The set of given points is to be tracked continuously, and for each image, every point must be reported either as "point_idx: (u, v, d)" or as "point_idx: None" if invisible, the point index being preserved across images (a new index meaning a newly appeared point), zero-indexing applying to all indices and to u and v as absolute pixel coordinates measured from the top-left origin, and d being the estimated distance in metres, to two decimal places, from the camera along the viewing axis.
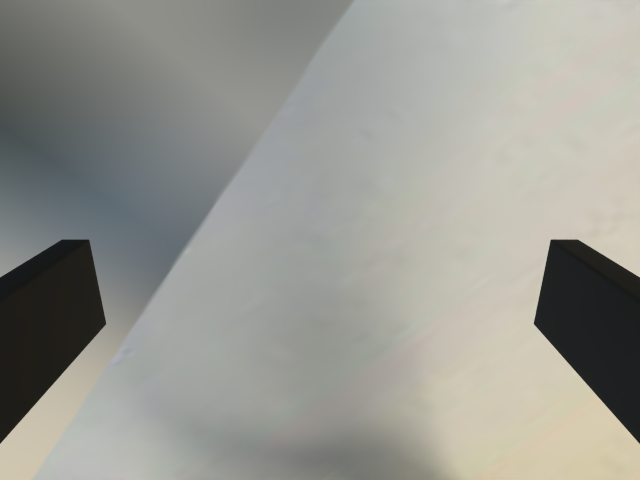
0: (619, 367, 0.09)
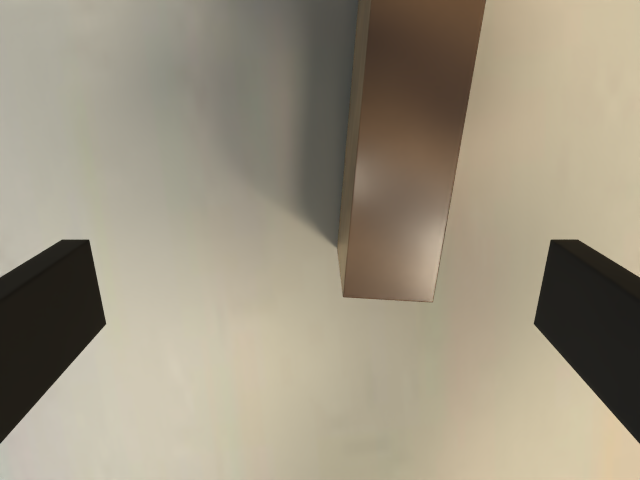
0: (619, 367, 0.09)
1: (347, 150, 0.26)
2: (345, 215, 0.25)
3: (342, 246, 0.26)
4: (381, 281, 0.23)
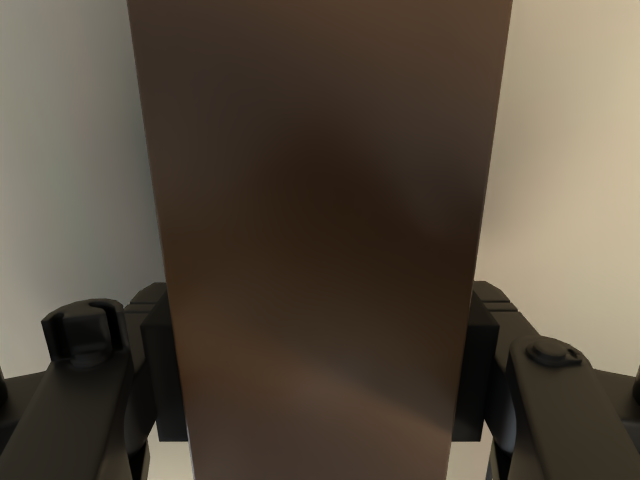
0: None
1: None
2: None
3: None
4: None
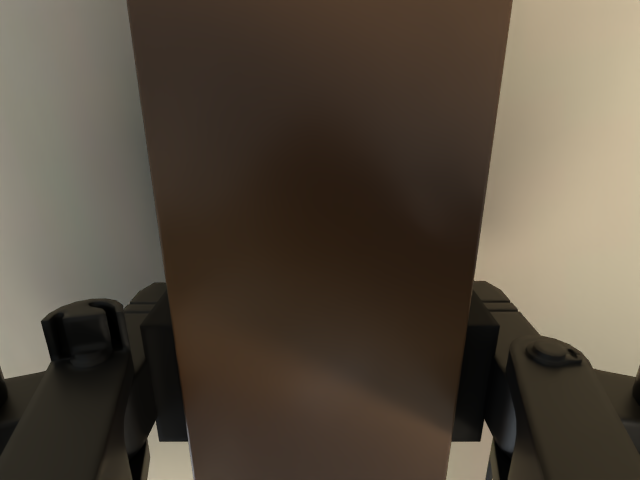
0: None
1: None
2: None
3: None
4: None
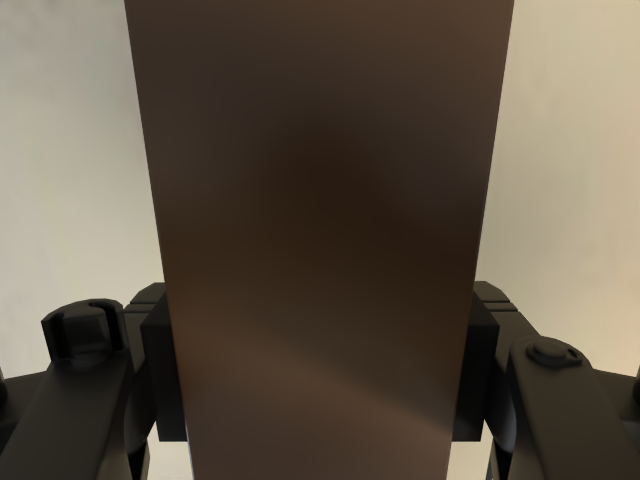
0: None
1: None
2: None
3: None
4: None
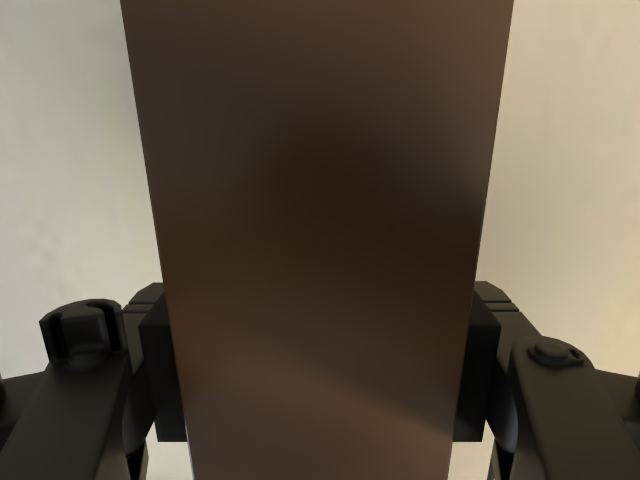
0: None
1: None
2: None
3: None
4: None
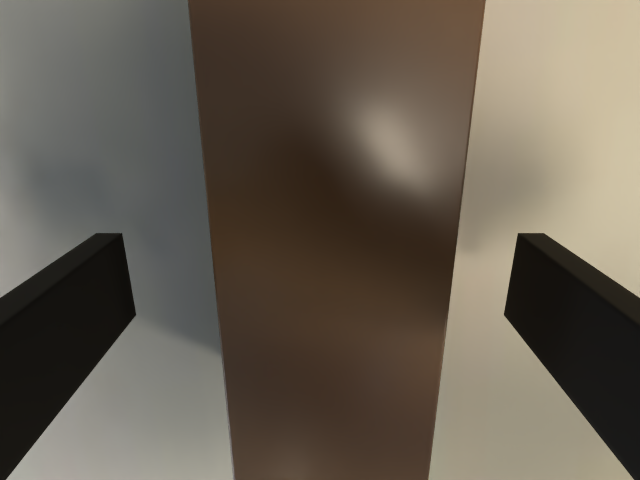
0: (573, 352, 0.10)
1: None
2: None
3: None
4: None
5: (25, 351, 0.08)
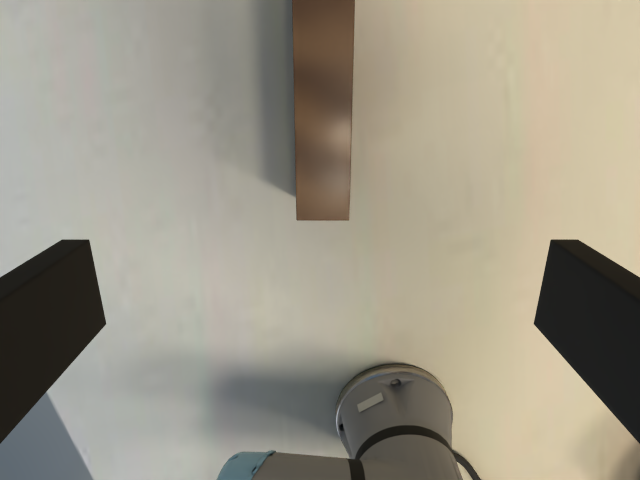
0: (619, 367, 0.09)
1: None
2: None
3: None
4: (317, 209, 0.40)
5: None
